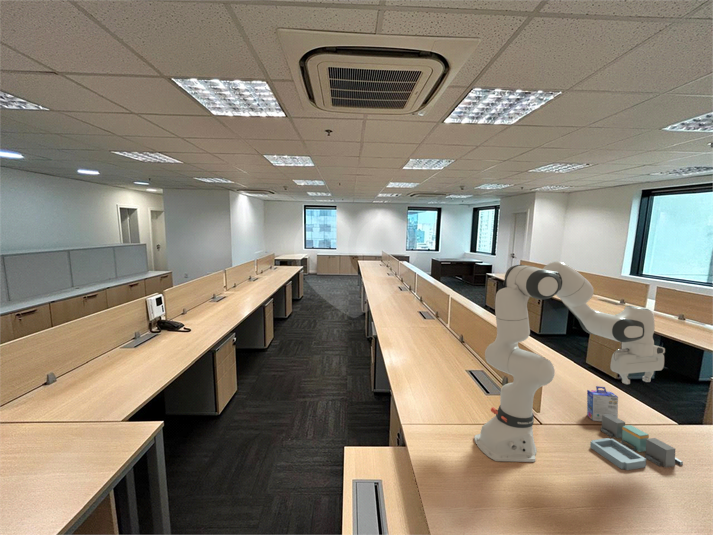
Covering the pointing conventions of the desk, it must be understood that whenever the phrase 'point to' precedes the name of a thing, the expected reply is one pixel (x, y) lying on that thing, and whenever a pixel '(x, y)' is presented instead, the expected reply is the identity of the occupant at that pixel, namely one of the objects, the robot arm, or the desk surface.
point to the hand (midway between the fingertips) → (636, 382)
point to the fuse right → (661, 452)
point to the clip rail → (635, 449)
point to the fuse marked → (635, 437)
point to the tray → (618, 454)
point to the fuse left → (613, 425)
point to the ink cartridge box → (601, 404)
